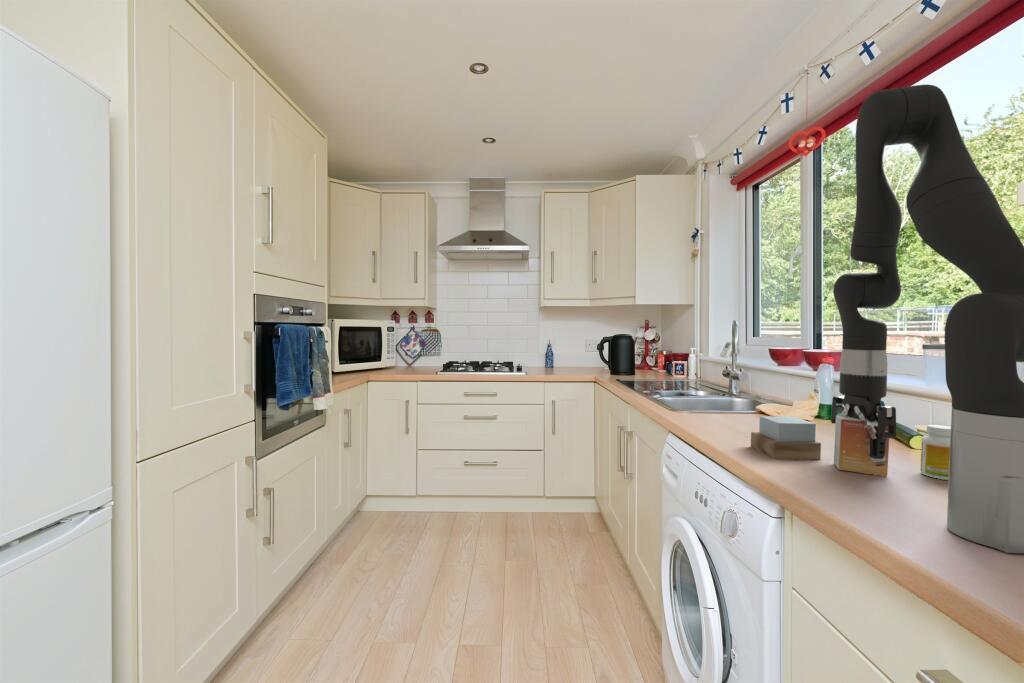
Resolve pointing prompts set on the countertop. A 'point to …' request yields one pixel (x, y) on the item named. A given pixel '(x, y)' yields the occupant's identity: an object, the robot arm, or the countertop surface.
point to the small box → (857, 448)
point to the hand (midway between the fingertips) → (860, 452)
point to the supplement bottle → (936, 452)
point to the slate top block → (787, 429)
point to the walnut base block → (785, 448)
